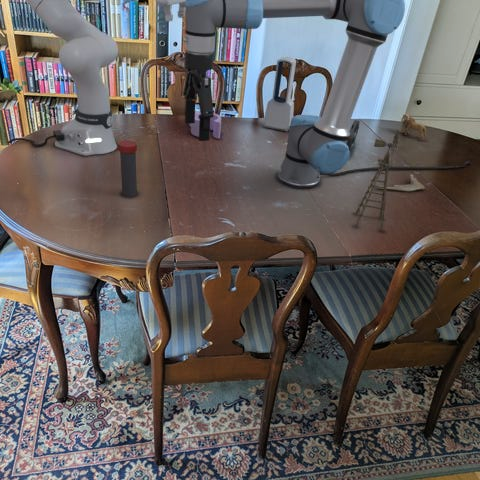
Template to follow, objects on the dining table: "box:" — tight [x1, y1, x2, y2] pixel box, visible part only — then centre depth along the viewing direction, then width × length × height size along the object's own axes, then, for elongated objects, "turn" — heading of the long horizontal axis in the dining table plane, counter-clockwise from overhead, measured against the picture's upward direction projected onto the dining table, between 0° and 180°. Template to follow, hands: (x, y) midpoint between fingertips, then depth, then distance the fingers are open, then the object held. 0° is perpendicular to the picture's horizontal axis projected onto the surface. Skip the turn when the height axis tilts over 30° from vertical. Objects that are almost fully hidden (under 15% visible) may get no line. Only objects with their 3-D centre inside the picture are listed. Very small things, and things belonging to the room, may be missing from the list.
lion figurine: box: [400, 113, 429, 141], centre depth 217 cm, size 15×5×9 cm, turn 50°
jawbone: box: [377, 173, 426, 193], centre depth 169 cm, size 9×20×2 cm, turn 126°
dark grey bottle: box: [119, 151, 138, 198], centre depth 143 cm, size 4×4×16 cm
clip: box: [188, 110, 222, 140], centre depth 199 cm, size 20×12×7 cm, turn 23°
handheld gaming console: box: [346, 119, 361, 157], centre depth 194 cm, size 23×3×10 cm, turn 161°
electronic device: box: [262, 56, 297, 132], centre depth 204 cm, size 12×8×30 cm, turn 71°
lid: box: [117, 139, 138, 154], centre depth 139 cm, size 5×5×2 cm
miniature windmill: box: [354, 129, 400, 232], centre depth 137 cm, size 9×8×30 cm
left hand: (175, 19), depth 144 cm, fingers open, 8 cm apart
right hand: (196, 131), depth 132 cm, fingers open, 13 cm apart
